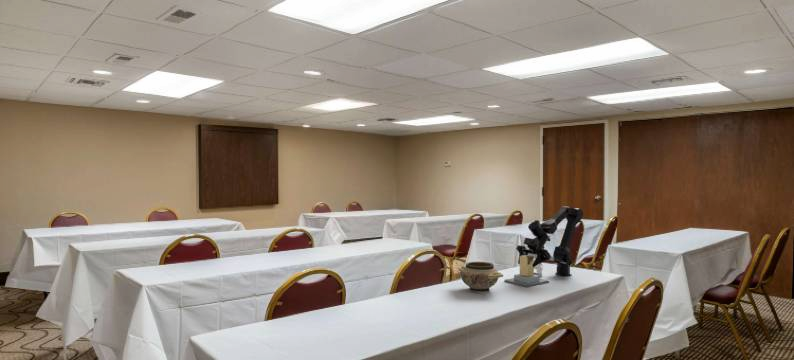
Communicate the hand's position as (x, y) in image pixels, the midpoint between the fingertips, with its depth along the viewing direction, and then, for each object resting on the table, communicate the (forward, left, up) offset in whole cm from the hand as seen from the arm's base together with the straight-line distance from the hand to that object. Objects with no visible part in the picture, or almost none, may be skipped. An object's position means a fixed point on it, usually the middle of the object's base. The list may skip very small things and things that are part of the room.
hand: (525, 265), depth 236 cm
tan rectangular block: (-1, 0, -8) cm, 8 cm away
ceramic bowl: (+31, +7, -9) cm, 33 cm away
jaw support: (-16, -15, -9) cm, 24 cm away
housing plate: (-1, 0, -9) cm, 9 cm away
